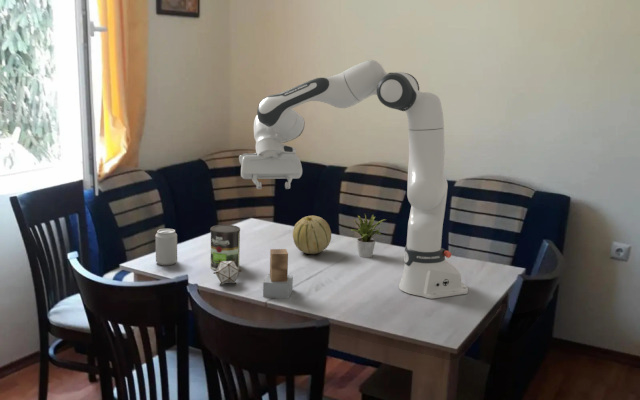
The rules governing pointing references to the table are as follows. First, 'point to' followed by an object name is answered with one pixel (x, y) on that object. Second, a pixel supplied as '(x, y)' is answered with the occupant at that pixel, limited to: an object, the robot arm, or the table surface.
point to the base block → (277, 288)
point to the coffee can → (224, 244)
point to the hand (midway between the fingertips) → (273, 188)
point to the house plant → (366, 236)
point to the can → (166, 247)
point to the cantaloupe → (311, 234)
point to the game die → (227, 271)
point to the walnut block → (278, 265)
